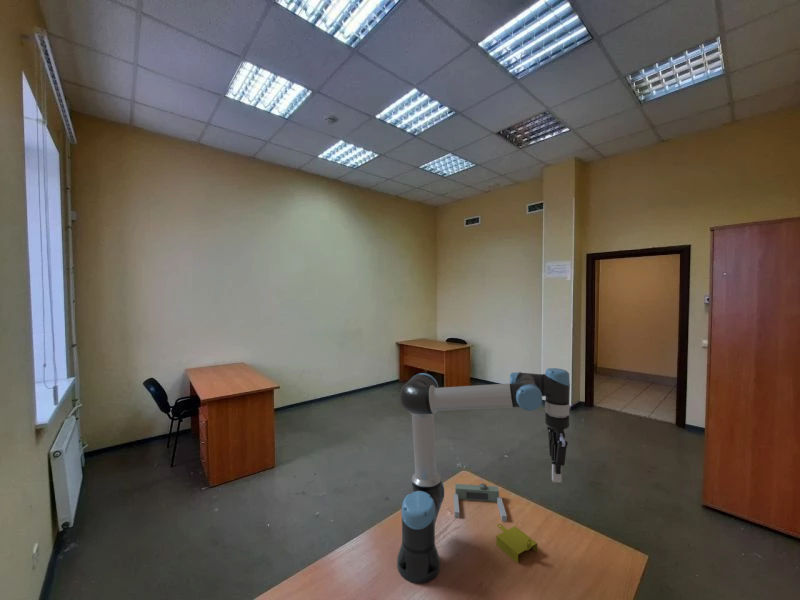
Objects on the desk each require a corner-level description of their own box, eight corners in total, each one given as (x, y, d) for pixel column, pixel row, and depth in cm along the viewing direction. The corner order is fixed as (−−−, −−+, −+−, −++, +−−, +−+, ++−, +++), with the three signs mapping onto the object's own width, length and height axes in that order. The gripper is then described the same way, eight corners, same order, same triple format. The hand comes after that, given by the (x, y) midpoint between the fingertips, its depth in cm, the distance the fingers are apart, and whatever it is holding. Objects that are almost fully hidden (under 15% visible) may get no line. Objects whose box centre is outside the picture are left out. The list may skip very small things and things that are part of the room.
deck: (454, 517, 144) (454, 503, 143) (453, 493, 160) (453, 481, 160) (506, 521, 141) (506, 507, 141) (499, 496, 158) (499, 484, 158)
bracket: (511, 509, 137) (542, 532, 124) (511, 527, 137) (542, 552, 124) (483, 522, 129) (514, 548, 116) (483, 541, 130) (514, 569, 117)
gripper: (576, 421, 107) (575, 493, 108) (561, 407, 120) (561, 471, 121) (552, 420, 108) (551, 491, 109) (540, 407, 121) (539, 470, 122)
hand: (556, 480), depth 115 cm, fingers closed
